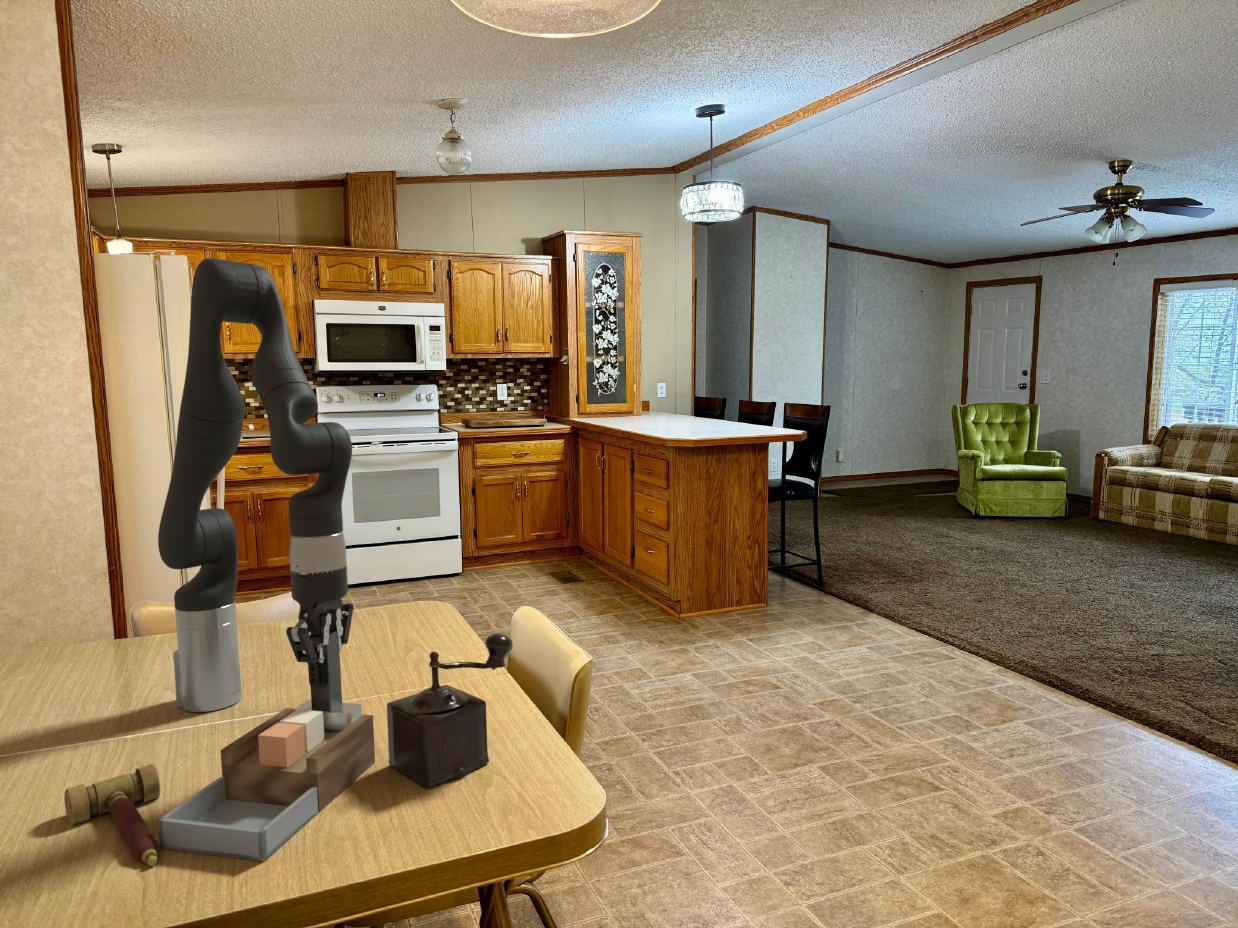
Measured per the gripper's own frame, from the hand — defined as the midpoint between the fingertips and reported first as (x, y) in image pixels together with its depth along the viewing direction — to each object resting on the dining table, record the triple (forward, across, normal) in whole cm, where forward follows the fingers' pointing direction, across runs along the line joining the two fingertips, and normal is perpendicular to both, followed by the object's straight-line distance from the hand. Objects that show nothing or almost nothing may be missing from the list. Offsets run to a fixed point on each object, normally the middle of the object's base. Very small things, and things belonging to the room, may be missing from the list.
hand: (325, 682), depth 119 cm
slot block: (+12, +6, 0) cm, 13 cm away
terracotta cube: (+7, +10, 0) cm, 12 cm away
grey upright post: (+6, 0, 0) cm, 6 cm away
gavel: (+12, +22, -14) cm, 29 cm away
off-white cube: (+7, +6, 0) cm, 9 cm away
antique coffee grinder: (+12, -4, +18) cm, 22 cm away
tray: (+12, +19, 0) cm, 22 cm away
